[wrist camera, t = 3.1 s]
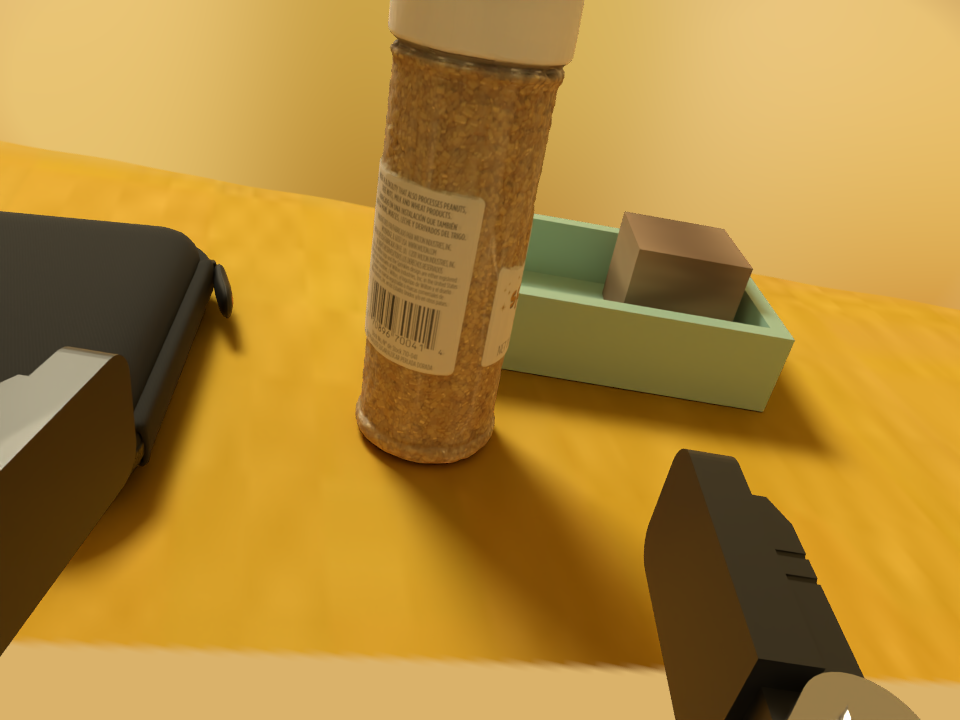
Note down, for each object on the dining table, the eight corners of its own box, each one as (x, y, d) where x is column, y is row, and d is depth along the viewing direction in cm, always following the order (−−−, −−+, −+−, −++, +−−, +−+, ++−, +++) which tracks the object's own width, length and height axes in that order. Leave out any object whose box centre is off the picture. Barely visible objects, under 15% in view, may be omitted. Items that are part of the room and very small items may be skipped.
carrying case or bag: (176, 547, 18) (248, 288, 30) (169, 451, 16) (248, 220, 29) (-344, 544, 16) (-38, 266, 28) (-407, 432, 14) (-54, 190, 27)
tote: (388, 349, 27) (397, 272, 26) (417, 257, 35) (425, 194, 34) (763, 411, 28) (795, 340, 26) (708, 308, 36) (730, 248, 34)
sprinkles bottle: (519, 446, 23) (630, -15, 17) (399, 488, 21) (474, -41, 14) (439, 375, 26) (507, -42, 20) (326, 404, 24) (359, -68, 17)
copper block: (613, 338, 30) (639, 249, 28) (601, 293, 34) (624, 211, 32) (718, 356, 30) (753, 268, 28) (695, 309, 34) (724, 228, 32)
